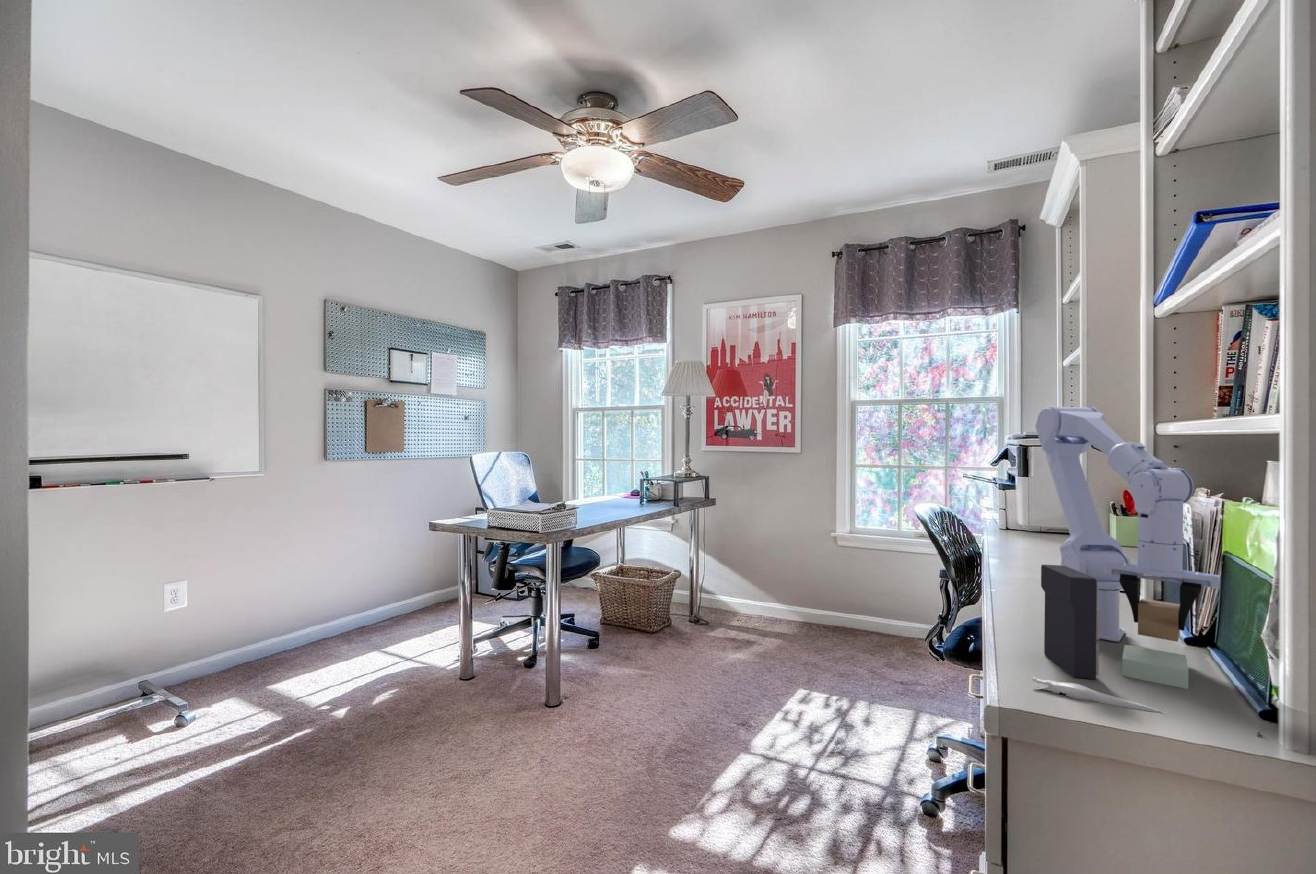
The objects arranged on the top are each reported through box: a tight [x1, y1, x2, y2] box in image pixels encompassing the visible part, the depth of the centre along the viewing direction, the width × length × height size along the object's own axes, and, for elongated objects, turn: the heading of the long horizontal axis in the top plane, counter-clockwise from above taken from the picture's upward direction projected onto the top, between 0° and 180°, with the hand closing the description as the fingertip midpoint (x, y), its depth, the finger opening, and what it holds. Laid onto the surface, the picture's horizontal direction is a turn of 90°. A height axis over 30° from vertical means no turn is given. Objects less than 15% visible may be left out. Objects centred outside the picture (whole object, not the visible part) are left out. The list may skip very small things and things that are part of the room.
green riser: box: [1121, 644, 1189, 690], centre depth 95 cm, size 9×8×3 cm
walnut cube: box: [1137, 598, 1181, 643], centre depth 101 cm, size 5×5×5 cm
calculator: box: [1040, 564, 1100, 680], centre depth 97 cm, size 11×4×15 cm, turn 168°
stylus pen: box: [1031, 676, 1167, 715], centre depth 84 cm, size 15×3×2 cm, turn 57°
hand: (1158, 625), depth 101 cm, fingers closed on walnut cube, 5 cm apart
